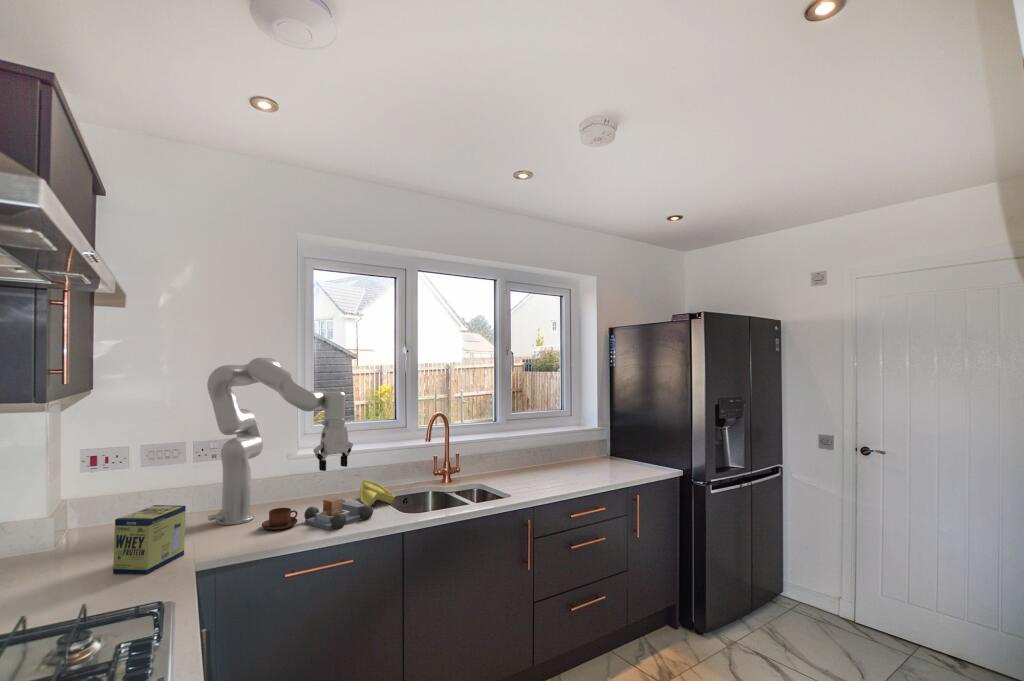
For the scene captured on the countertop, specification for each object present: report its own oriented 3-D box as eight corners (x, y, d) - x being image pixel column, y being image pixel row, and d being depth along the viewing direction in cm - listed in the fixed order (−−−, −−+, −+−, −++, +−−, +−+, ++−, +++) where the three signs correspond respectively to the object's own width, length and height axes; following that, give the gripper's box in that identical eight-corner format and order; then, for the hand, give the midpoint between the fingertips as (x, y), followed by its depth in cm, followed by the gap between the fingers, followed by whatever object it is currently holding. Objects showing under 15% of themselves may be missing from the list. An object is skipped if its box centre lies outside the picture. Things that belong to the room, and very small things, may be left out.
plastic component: (396, 497, 217) (376, 490, 211) (388, 514, 215) (367, 507, 210) (381, 484, 234) (362, 477, 228) (373, 500, 232) (354, 493, 227)
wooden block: (331, 520, 187) (331, 501, 188) (322, 518, 190) (323, 499, 190) (342, 517, 191) (342, 498, 192) (333, 515, 194) (334, 496, 194)
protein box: (111, 574, 142) (113, 519, 143) (153, 554, 158) (155, 504, 159) (146, 575, 142) (148, 519, 143) (185, 554, 157) (186, 504, 158)
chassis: (332, 531, 180) (332, 516, 180) (302, 522, 189) (302, 508, 190) (374, 516, 197) (375, 503, 197) (345, 510, 206) (345, 497, 207)
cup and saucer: (284, 520, 193) (284, 504, 193) (304, 525, 187) (304, 508, 187) (254, 529, 183) (255, 512, 183) (274, 534, 176) (275, 517, 177)
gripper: (321, 426, 183) (320, 473, 182) (358, 422, 198) (358, 465, 197) (308, 425, 187) (307, 471, 186) (346, 420, 202) (345, 463, 201)
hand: (333, 468), depth 192 cm, fingers open, 9 cm apart
